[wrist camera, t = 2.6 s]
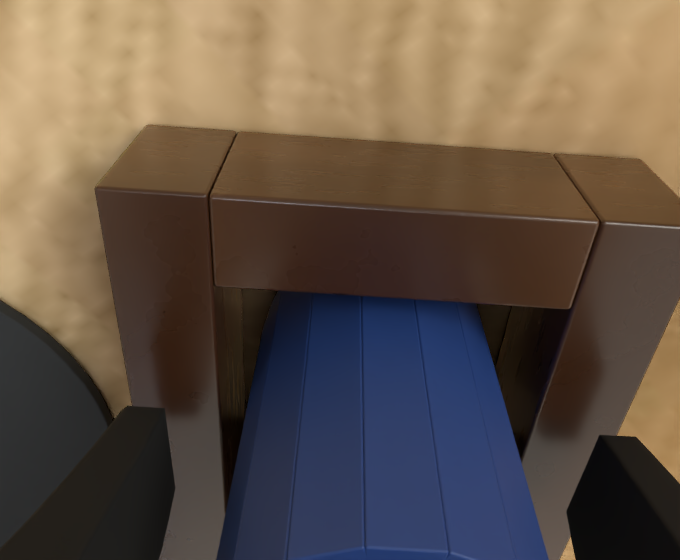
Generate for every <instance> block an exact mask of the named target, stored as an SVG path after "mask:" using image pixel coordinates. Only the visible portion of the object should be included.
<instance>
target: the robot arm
mask: <svg viewBox="0 0 680 560" xmlns="http://www.w3.org/2000/svg"><path fill="white" fill-rule="evenodd" d="M174 493H175V482H174V474H173V467H172V459H171V452H170V444H169V436H168V429H167V421H166V414H165V408H154V407H138V406H127V407H126V408H124V409H123V410H122V411H121V412H120V413H119V414H118V416H117V417H116V418H115V419H114V421H113V422H112V423H111V424H110V426H109V427H108V428H107V429H106V430H105V432H104V433H103V434H102V435H101V437H100V438H99V439H98V440H97V441H96V443H95V444H94V445H93V446H92V447H91V449H90V450H89V451H88V452H87V453H86V455H85V456H84V457H83V458H82V459H81V460H80V462H79V463H78V464H77V465H76V466H75V468H74V469H73V470H72V471H71V472H70V473H69V475H68V476H67V477H66V478H65V479H64V480H63V481H62V482H61V484H60V485H59V486H58V487H57V488H56V489H55V490H54V491H53V492H52V494H51V495H50V496H49V497H48V498H47V499H46V500H45V501H44V502H43V504H42V505H41V506H40V507H39V508H38V509H37V510H36V511H35V512H34V514H33V515H32V516H31V517H30V518H29V519H28V520H27V521H26V522H25V523H24V524H23V525H22V526H21V528H20V529H19V530H18V531H17V532H16V533H15V534H14V535H13V536H12V537H11V538H10V539H9V540H8V541H7V542H6V543H5V544H4V545H3V546H2V547H1V548H0V560H159V557H160V554H161V551H162V547H163V543H164V539H165V534H166V530H167V526H168V521H169V516H170V512H171V507H172V502H173V498H174ZM566 514H567V519H568V524H569V529H570V534H571V539H572V544H573V549H574V554H575V558H576V560H680V484H679V483H678V481H677V480H676V479H675V478H674V477H673V476H672V475H671V474H670V473H669V472H668V471H667V469H666V468H665V467H664V466H663V465H662V464H661V463H660V462H659V461H658V460H657V459H656V458H655V456H654V455H653V454H652V453H651V452H650V451H649V450H648V449H647V448H646V447H645V446H644V445H643V444H642V443H641V442H640V441H639V440H638V439H637V438H636V437H629V436H612V435H599V437H598V440H597V442H596V444H595V446H594V449H593V451H592V453H591V456H590V458H589V460H588V462H587V465H586V467H585V469H584V472H583V474H582V476H581V478H580V481H579V483H578V485H577V488H576V490H575V492H574V495H573V497H572V499H571V501H570V504H569V506H568V508H567V511H566Z"/></svg>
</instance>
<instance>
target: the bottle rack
mask: <svg viewBox="0 0 680 560" xmlns="http://www.w3.org/2000/svg"><path fill="white" fill-rule="evenodd" d="M95 194H96V200H97V206H98V211H99V217H100V223H101V229H102V234H103V240H104V246H105V252H106V257H107V263H108V269H109V275H110V281H111V286H112V292H113V298H114V304H115V309H116V315H117V321H118V327H119V332H120V338H121V344H122V350H123V356H124V361H125V367H126V373H127V379H128V384H129V390H130V396H131V402H132V406H138V407H154V408H165V414H166V421H167V429H168V436H169V444H170V452H171V459H172V467H173V474H174V482H175V493H174V498H173V502H172V507H171V512H170V516H169V521H168V526H167V530H166V534H165V539H164V543H163V547H162V551H161V554H160V557H159V560H216V558H217V553H218V548H219V543H220V538H221V534H222V529H223V524H224V519H225V514H226V509H227V504H228V499H229V494H230V489H231V484H232V479H233V474H234V469H235V464H236V459H237V455H238V450H239V445H240V440H241V435H242V430H243V425H244V420H245V391H244V358H243V325H242V292H241V288H243V289H258V290H274V291H289V292H305V293H320V294H336V295H351V296H366V297H382V298H397V299H413V300H428V301H443V302H459V303H474V304H490V305H505V306H512V309H511V312H510V316H509V320H508V323H507V327H506V331H505V334H504V338H503V341H502V345H501V349H500V352H499V356H498V360H497V363H496V367H495V371H496V375H497V378H498V382H499V385H500V389H501V392H502V396H503V399H504V403H505V407H506V410H507V414H508V417H509V421H510V424H511V428H512V431H513V435H514V438H515V442H516V445H517V449H518V452H519V456H520V459H521V463H522V467H523V470H524V474H525V477H526V481H527V484H528V488H529V491H530V495H531V498H532V502H533V505H534V509H535V512H536V516H537V519H538V523H539V527H540V530H541V534H542V537H543V541H544V544H545V548H546V551H547V555H548V558H549V560H560V558H561V556H562V554H563V551H564V549H565V547H566V545H567V543H568V541H569V538H570V536H571V534H570V529H569V524H568V519H567V514H566V511H567V508H568V506H569V504H570V501H571V499H572V497H573V495H574V492H575V490H576V488H577V485H578V483H579V481H580V478H581V476H582V474H583V472H584V469H585V467H586V465H587V462H588V460H589V458H590V456H591V453H592V451H593V449H594V446H595V444H596V442H597V440H598V437H599V435H612V436H617V434H618V432H619V429H620V427H621V425H622V423H623V421H624V419H625V416H626V414H627V412H628V410H629V408H630V405H631V403H632V401H633V399H634V397H635V395H636V392H637V390H638V388H639V386H640V384H641V382H642V379H643V377H644V375H645V373H646V371H647V368H648V366H649V364H650V362H651V360H652V358H653V355H654V353H655V351H656V349H657V347H658V344H659V342H660V340H661V338H662V336H663V334H664V331H665V329H666V327H667V325H668V323H669V321H670V318H671V316H672V314H673V312H674V310H675V307H676V305H677V303H678V301H679V299H680V198H679V197H678V196H677V195H676V194H675V193H674V192H673V191H672V190H671V189H670V188H669V187H668V186H667V185H666V184H665V183H664V182H663V181H662V180H661V179H660V178H659V177H658V176H657V175H656V174H655V173H654V172H653V171H652V170H651V169H650V168H649V167H648V166H647V165H646V164H645V163H644V162H643V161H642V160H640V159H627V158H613V157H598V156H584V155H570V154H554V156H553V155H552V154H550V153H539V152H524V151H510V150H496V149H481V148H467V147H453V146H438V145H424V144H410V143H395V142H381V141H367V140H352V139H338V138H324V137H309V136H295V135H281V134H266V133H252V132H238V133H237V134H236V132H235V131H228V130H214V129H199V128H185V127H171V126H156V125H146V126H145V127H144V129H143V130H142V131H141V132H140V133H139V135H138V136H137V137H136V138H135V139H134V141H133V142H132V143H131V144H130V145H129V147H128V148H127V149H126V150H125V151H124V153H123V154H122V155H121V156H120V157H119V159H118V160H117V161H116V162H115V163H114V165H113V166H112V167H111V168H110V169H109V171H108V172H107V173H106V174H105V175H104V177H103V178H102V179H101V180H100V181H99V183H98V184H97V185H96V186H95Z"/></svg>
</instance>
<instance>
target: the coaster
mask: <svg viewBox="0 0 680 560" xmlns="http://www.w3.org/2000/svg"><path fill="white" fill-rule="evenodd" d="M112 422H113V421H112V417H111V414H110V412H109V410H108V408H107V406H106V404H105V402H104V400H103V398H102V395H101V394H100V392H99V391H98V389H97V388H96V386H95V385H94V383H93V382H92V380H91V379H90V377H89V376H88V375H87V373H86V372H85V371H84V370H83V369H82V367H81V366H80V365H79V364H78V363H77V362H76V360H75V359H74V358H73V357H72V356H71V355H70V354H69V353H68V352H67V351H66V350H65V349H64V348H63V347H62V346H61V345H60V344H59V343H58V342H56V341H55V340H54V339H53V338H52V337H51V336H50V335H49V334H48V333H46V332H45V331H44V330H42V329H41V328H40V327H39V326H37V325H36V324H35V323H33V322H32V321H31V320H29V319H28V318H27V317H26V316H24V315H22V314H21V313H19V312H18V311H16V310H15V309H13V308H11V307H10V306H8V305H7V304H5V303H4V302H2V301H0V548H1V547H2V546H3V545H4V544H5V543H6V542H7V541H8V540H9V539H10V538H11V537H12V536H13V535H14V534H15V533H16V532H17V531H18V530H19V529H20V528H21V526H22V525H23V524H24V523H25V522H26V521H27V520H28V519H29V518H30V517H31V516H32V515H33V514H34V512H35V511H36V510H37V509H38V508H39V507H40V506H41V505H42V504H43V502H44V501H45V500H46V499H47V498H48V497H49V496H50V495H51V494H52V492H53V491H54V490H55V489H56V488H57V487H58V486H59V485H60V484H61V482H62V481H63V480H64V479H65V478H66V477H67V476H68V475H69V473H70V472H71V471H72V470H73V469H74V468H75V466H76V465H77V464H78V463H79V462H80V460H81V459H82V458H83V457H84V456H85V455H86V453H87V452H88V451H89V450H90V449H91V447H92V446H93V445H94V444H95V443H96V441H97V440H98V439H99V438H100V437H101V435H102V434H103V433H104V432H105V430H106V429H107V428H108V427H109V426H110V424H111V423H112Z"/></svg>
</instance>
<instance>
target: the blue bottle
mask: <svg viewBox="0 0 680 560" xmlns="http://www.w3.org/2000/svg"><path fill="white" fill-rule="evenodd" d="M216 560H549V558H548V555H547V551H546V548H545V544H544V541H543V537H542V534H541V530H540V527H539V523H538V519H537V516H536V512H535V509H534V505H533V502H532V498H531V495H530V491H529V488H528V484H527V481H526V477H525V474H524V470H523V467H522V463H521V459H520V456H519V452H518V449H517V445H516V442H515V438H514V435H513V431H512V428H511V424H510V421H509V417H508V414H507V410H506V407H505V403H504V399H503V396H502V392H501V389H500V385H499V382H498V378H497V375H496V371H495V368H494V364H493V361H492V357H491V354H490V350H489V347H488V343H487V340H486V336H485V332H484V329H483V325H482V322H481V318H480V315H479V311H478V308H477V305H476V304H474V303H459V302H443V301H428V300H413V299H397V298H382V297H366V296H351V295H336V294H320V293H305V292H289V291H278V292H277V294H276V295H275V297H274V299H273V301H272V304H271V306H270V308H269V312H268V316H267V319H266V321H265V323H264V326H263V331H262V336H261V341H260V346H259V351H258V356H257V361H256V366H255V371H254V376H253V381H252V385H251V390H250V395H249V400H248V405H247V410H246V415H245V420H244V425H243V430H242V435H241V440H240V445H239V450H238V455H237V459H236V464H235V469H234V474H233V479H232V484H231V489H230V494H229V499H228V504H227V509H226V514H225V519H224V524H223V529H222V534H221V538H220V543H219V548H218V553H217V558H216Z"/></svg>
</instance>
